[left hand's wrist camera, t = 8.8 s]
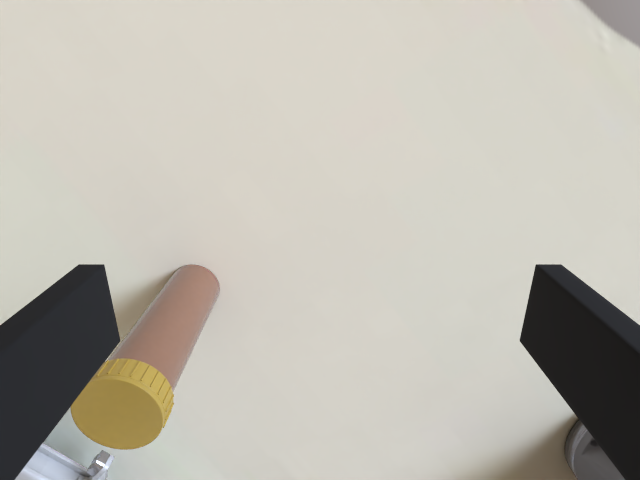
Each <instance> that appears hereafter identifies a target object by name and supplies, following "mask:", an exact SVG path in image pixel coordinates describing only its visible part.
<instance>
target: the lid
mask: <svg viewBox="0 0 640 480" xmlns="http://www.w3.org/2000/svg"><path fill="white" fill-rule="evenodd" d="M173 397H174V395H173V391H172V387H171V386H170V384H169V382H168V380H167V379H166V378H165V376H164V375H163V374H162V373H161V372H160V371H158V370H157V369H156V368H154V367H152V366H151V365H149V364H147V363H144V362H141V361H138V360H134V359H124V358H122V359H119V358H117V359H113V360H107V361H106V362H104V363H103V364H102V366H101V367H100V368H99V369H98V371H97V372H96V373H95V375H94V376H93V377H92V379H91V380H90V381H89V383H88V384H87V385H86V387H85V388H84V389H83V391H82V392H81V393H80V395H79V396H78V397H77V398H76V400H75V401H74V402H73V404H72V405H71V414H72V417H73V420H74V422H75V424H76V425H77V427H78V428H79V429H80V430H81V432H82V433H83V434H85V435H86V436H87V437H88V438H90V439H91V440H93V441H95V442H97V443H99V444H101V445H103V446H106V447H110V448H114V449H135V448H139V447H143V446H145V445H147V444H149V443H151V442H152V441H153V440H154V439H155V438H156V437H157V436H158V435H159V433H160V432H161V430H162V427H163V428H164V426H165V424H166V422H167V419H168V417H169V415H170V413H171V409H172V407H173V405H174V403H173Z"/></svg>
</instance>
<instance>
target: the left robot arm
mask: <svg viewBox="0 0 640 480" xmlns="http://www.w3.org/2000/svg"><path fill="white" fill-rule="evenodd" d="M119 342H120V337H119V332H118V328H117V323H116V318H115V314H114V309H113V304H112V299H111V295H110V290H109V285H108V281H107V276H106V271H105V267H104V265H78V266H76V267H75V268H74V269H73V270H71V271H70V272H69V273H67V274H66V275H65V276H64V277H62V278H61V279H60V280H58V281H57V282H56V283H55V284H53V285H52V286H51V287H49V288H48V289H47V290H45V291H44V292H43V293H42V294H40V295H39V296H38V297H36V298H35V299H34V300H33V301H31V302H30V303H29V304H27V305H26V306H25V307H24V308H22V309H21V310H20V311H18V312H17V313H16V314H14V315H13V316H12V317H11V318H9V319H8V320H7V321H5V322H4V323H3V324H2V325H0V480H15V479H16V477H17V476H18V475H19V474H20V472H21V471H22V470H23V468H24V467H25V466H26V464H27V463H28V462H29V460H30V459H31V458H32V456H33V455H34V454H35V452H36V451H37V450H38V448H39V447H40V446H41V445H42V443H43V442H44V441H45V439H46V438H47V437H48V435H49V434H50V433H51V431H52V430H53V429H54V427H55V426H56V425H57V423H58V422H59V421H60V420H61V418H62V417H63V416H64V414H65V413H66V412H67V410H68V409H69V408H70V406H71V405H72V404H73V402H74V401H75V400H76V398H77V397H78V396H79V395H80V393H81V392H82V391H83V389H84V388H85V387H86V385H87V384H88V383H89V381H90V380H91V379H92V377H93V376H94V375H95V373H96V372H97V371H98V369H99V368H100V367H101V366H102V364H103V363H104V362H105V360H106V359H107V358H108V356H109V355H110V354H111V352H112V351H113V350H114V348H115V347H116V346H117V344H118V343H119ZM520 342H521V343H522V344H523V346H524V347H525V348H526V350H527V351H528V352H529V354H530V355H531V356H532V358H533V359H534V360H535V362H536V363H537V364H538V366H539V367H540V368H541V370H542V371H543V372H544V373H545V375H546V376H547V377H548V379H549V380H550V381H551V383H552V384H553V385H554V387H555V388H556V389H557V391H558V392H559V393H560V395H561V396H562V397H563V398H564V400H565V401H566V402H567V404H568V405H569V406H570V408H571V409H572V410H573V412H574V413H575V414H576V416H577V417H578V418H579V420H578V421H577V422H576V424H575V425H574V426H573V428H572V429H571V431H570V433H569V435H568V438H567V440H566V445H565V456H566V460H567V463H568V465H569V467H570V468H571V470H572V471H573V473H574V474H575V476H576V477H577V479H578V480H640V325H638V324H637V323H636V322H635V321H633V320H632V319H631V318H629V317H628V316H627V315H626V314H624V313H623V312H622V311H620V310H619V309H618V308H616V307H615V306H614V305H613V304H611V303H610V302H609V301H607V300H606V299H605V298H604V297H602V296H601V295H600V294H598V293H597V292H596V291H595V290H593V289H592V288H591V287H589V286H588V285H587V284H585V283H584V282H583V281H582V280H580V279H579V278H578V277H576V276H575V275H574V274H573V273H571V272H570V271H569V270H567V269H566V268H565V267H564V266H562V265H536V267H535V271H534V276H533V281H532V285H531V290H530V295H529V299H528V304H527V309H526V314H525V318H524V323H523V328H522V332H521V337H520Z"/></svg>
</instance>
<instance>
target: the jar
mask: <svg viewBox="0 0 640 480" xmlns="http://www.w3.org/2000/svg"><path fill="white" fill-rule="evenodd" d="M219 291H220V287H219V283H218V280H217V278H216V277H215V275H214V274H213V273H212V272H211V271H209V270H208V269H206V268H204V267H202V266H198V265H186V266H183V267H181V268H179V269H177V270H176V271H175V272H174V273H173V275H172V276H171V277H170V279H169V280H168V281H167V283H166V284H165V285H164V287H163V288H162V289H161V291H160V292H159V293H158V295H157V296H156V297H155V299H154V300H153V301H152V303H151V304H150V305H149V306H148V308H147V309H146V310H145V312H144V313H143V314H142V316H141V317H140V318H139V320H138V321H137V322H136V324H135V325H134V326H133V328H132V329H131V330H130V332H129V333H128V334H127V336H126V337H125V338H124V339H123V341H122V342H121V343H120V345H119V346H118V347H117V349H116V350H115V351H114V353H113V354H112V355H111V357H110V358H109V359H108V360H113V359H117V358H119V359H122V358H124V359H134V360H138V361H141V362H144V363H147V364H149V365H151V366H152V367H154V368H156V369H157V370H158V371H160V372H161V373H162V374H163V375H164V376H165V378H166V379H167V380H168V382H169V384H170V386H171V387H172V391H174V389H175V387H176V385H177V383H178V381H179V379H180V376H181V374H182V372H183V370H184V368H185V366H186V364H187V362H188V360H189V357H190V355H191V353H192V351H193V349H194V347H195V345H196V343H197V340H198V338H199V336H200V334H201V332H202V330H203V328H204V326H205V323H206V321H207V319H208V317H209V315H210V313H211V311H212V309H213V306H214V304H215V302H216V300H217V298H218V296H219Z"/></svg>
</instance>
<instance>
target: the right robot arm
mask: <svg viewBox="0 0 640 480" xmlns="http://www.w3.org/2000/svg"><path fill="white" fill-rule="evenodd" d="M113 459H114V456H112V455H110V454H109V453H107V452H105V451H103V450H102V451H101V452H100V453H99V454H98V455H97V456H96V457H95V458H94V459H93V461H92V464H91V465H90V466H89V468H88V469H87V468H86V467H84V466H82V465H80V464H79V463H77V462H75V461H73V460H72V459H70V458H68V457H66V456H65V455H63V454H61V453H59V452H58V451H56V450H54V449H52V448H51V447H49V446H47V445H45V444H44V443H42V445H41V446H40V447H39V448H38V450H37V451H36V452H35V454H34V455H33V456H32V458H31V459H30V460H29V462H28V463H27V464H26V466H25V467H24V468H23V470H22V471H21V472H20V474H19V475H18V476H17V477H16V479H15V480H107V479H106V478H107V469H108V468H109V466H110V464H111V463H112V461H113Z"/></svg>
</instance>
